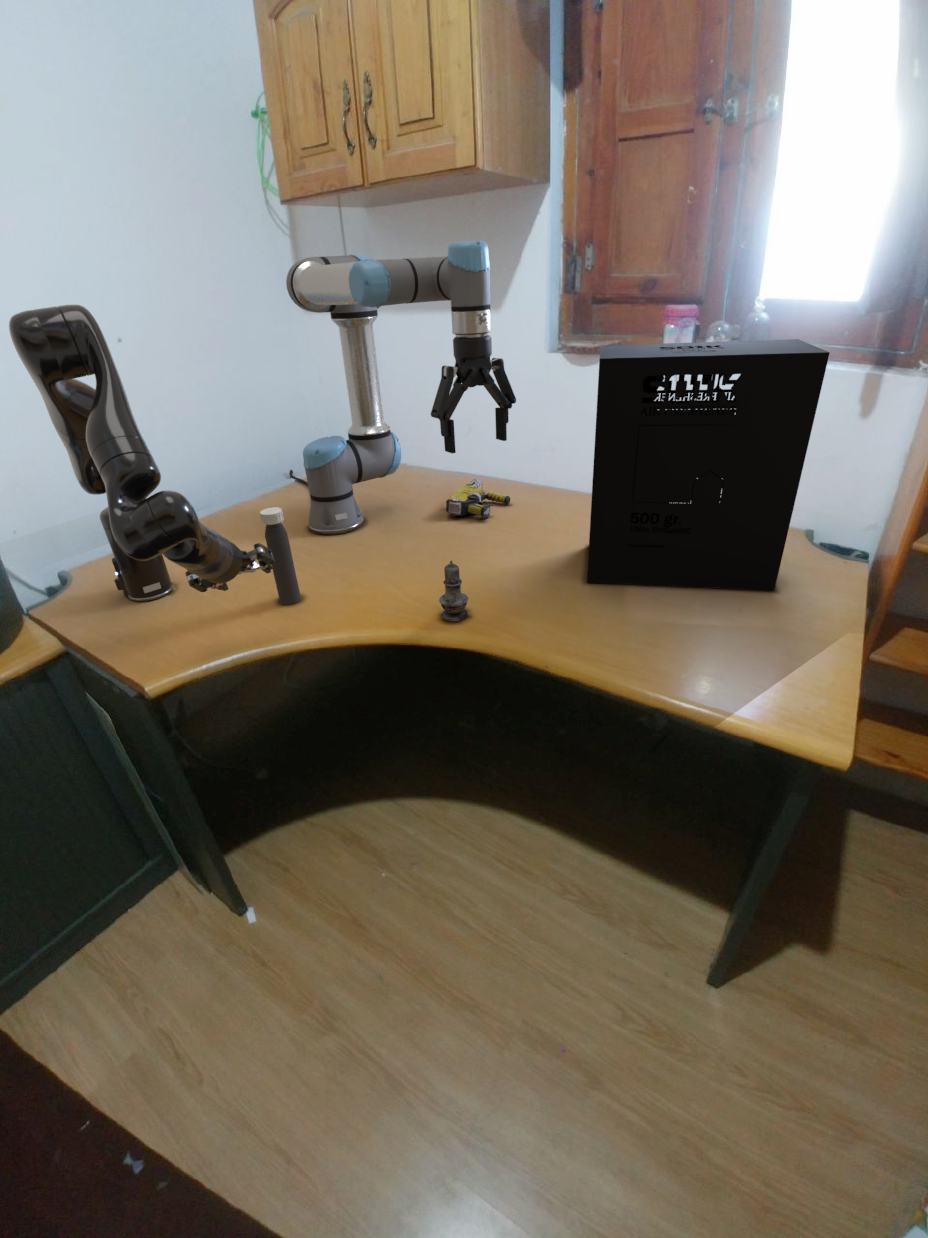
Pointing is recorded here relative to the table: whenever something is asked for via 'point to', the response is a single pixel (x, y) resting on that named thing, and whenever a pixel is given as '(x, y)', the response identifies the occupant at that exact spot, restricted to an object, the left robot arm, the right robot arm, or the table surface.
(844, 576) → the table surface
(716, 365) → the cardboard box
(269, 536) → the bottle
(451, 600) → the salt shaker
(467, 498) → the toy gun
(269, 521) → the cap
